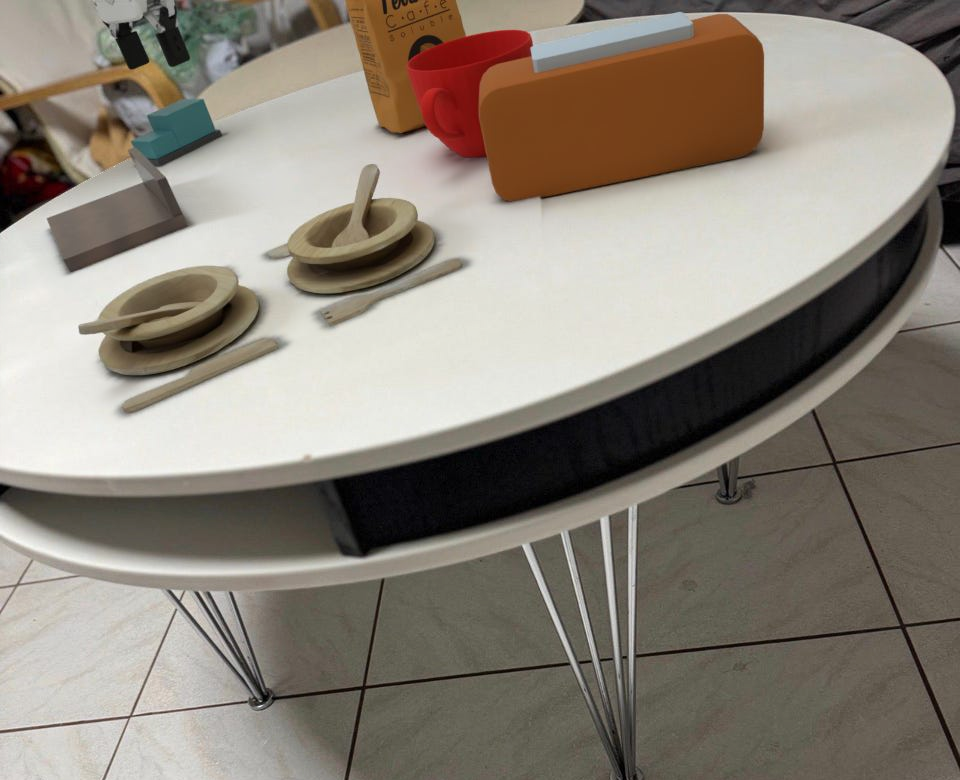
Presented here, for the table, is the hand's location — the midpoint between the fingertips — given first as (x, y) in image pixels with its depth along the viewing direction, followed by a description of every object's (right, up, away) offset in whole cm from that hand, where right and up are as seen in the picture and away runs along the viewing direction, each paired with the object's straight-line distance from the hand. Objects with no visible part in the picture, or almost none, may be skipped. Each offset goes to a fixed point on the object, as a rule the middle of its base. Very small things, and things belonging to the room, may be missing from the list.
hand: (159, 64), depth 110 cm
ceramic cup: (+43, -21, -22) cm, 53 cm away
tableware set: (+25, -40, -39) cm, 61 cm away
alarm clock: (+56, -26, -33) cm, 70 cm away
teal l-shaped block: (+1, -10, +6) cm, 11 cm away
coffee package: (+37, -11, -8) cm, 39 cm away
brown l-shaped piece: (+1, -27, -16) cm, 31 cm away
